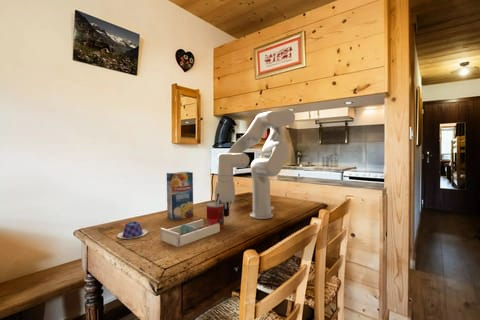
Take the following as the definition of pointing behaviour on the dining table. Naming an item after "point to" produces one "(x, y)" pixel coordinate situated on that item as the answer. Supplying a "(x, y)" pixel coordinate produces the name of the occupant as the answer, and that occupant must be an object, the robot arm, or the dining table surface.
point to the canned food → (215, 214)
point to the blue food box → (179, 195)
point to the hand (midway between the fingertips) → (225, 216)
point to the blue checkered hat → (132, 231)
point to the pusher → (187, 229)
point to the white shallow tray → (174, 233)
